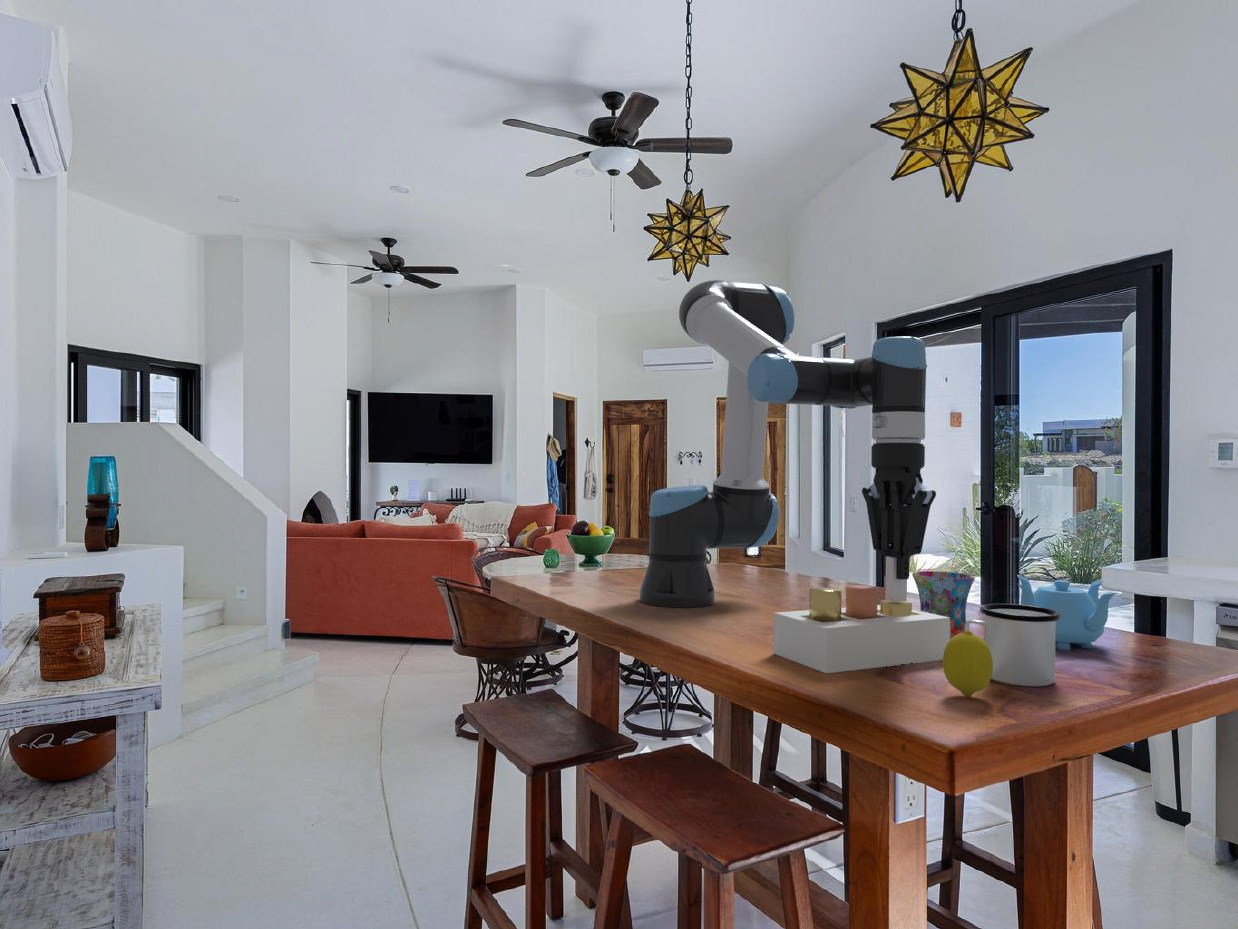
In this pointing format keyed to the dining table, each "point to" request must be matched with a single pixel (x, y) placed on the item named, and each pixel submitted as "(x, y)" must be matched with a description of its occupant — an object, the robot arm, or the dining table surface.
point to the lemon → (967, 663)
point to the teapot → (1071, 610)
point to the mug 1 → (945, 596)
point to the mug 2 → (1020, 643)
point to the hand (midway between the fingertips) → (895, 600)
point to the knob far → (896, 608)
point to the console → (860, 640)
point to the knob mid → (861, 602)
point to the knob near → (825, 604)
